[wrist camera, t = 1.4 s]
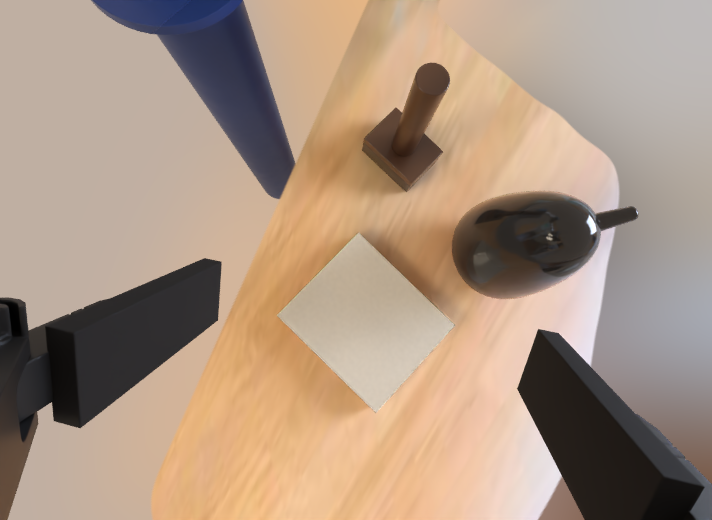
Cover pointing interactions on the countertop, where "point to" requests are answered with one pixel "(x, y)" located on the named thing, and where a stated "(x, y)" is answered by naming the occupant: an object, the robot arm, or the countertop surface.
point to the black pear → (528, 241)
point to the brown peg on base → (410, 130)
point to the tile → (366, 321)
